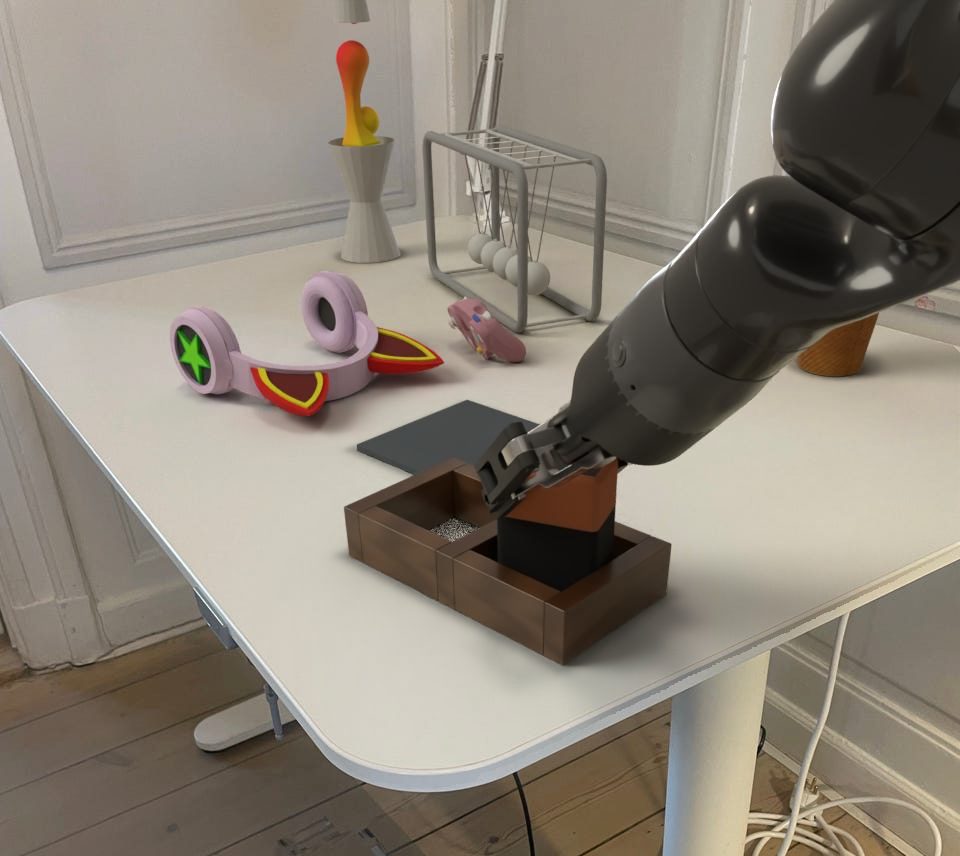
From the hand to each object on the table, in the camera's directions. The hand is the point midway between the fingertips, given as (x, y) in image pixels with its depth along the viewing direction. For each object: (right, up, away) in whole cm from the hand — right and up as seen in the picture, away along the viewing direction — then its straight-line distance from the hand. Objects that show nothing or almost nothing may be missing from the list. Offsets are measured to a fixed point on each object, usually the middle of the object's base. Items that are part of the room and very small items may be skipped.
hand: (543, 487), depth 64 cm
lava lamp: (-20, +46, +80) cm, 95 cm away
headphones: (-21, +16, +38) cm, 46 cm away
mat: (-4, +7, +23) cm, 24 cm away
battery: (+1, -6, +3) cm, 7 cm away
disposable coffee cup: (+32, +18, +39) cm, 54 cm away
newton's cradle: (-1, +33, +61) cm, 70 cm away
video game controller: (-4, +21, +44) cm, 49 cm away
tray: (-3, -5, +6) cm, 8 cm away
